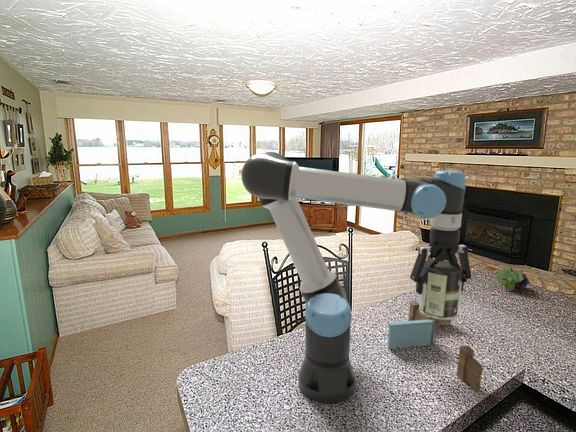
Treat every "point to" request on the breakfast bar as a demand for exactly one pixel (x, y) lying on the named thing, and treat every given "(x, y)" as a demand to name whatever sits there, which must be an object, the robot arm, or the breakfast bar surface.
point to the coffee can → (442, 291)
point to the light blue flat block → (411, 333)
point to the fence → (466, 363)
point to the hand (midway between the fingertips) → (438, 302)
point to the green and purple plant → (512, 279)
